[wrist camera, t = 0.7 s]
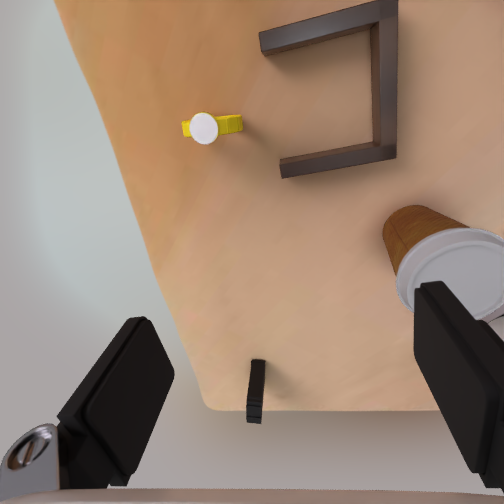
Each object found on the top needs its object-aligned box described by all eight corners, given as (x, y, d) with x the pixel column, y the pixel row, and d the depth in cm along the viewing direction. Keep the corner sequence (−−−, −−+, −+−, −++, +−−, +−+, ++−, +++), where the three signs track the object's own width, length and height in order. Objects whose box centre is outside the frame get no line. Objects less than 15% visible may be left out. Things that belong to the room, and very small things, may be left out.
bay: (261, 38, 29) (258, 32, 26) (387, 4, 26) (398, -7, 24) (282, 172, 34) (281, 178, 32) (387, 153, 32) (396, 158, 29)
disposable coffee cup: (466, 238, 35) (541, 299, 25) (390, 276, 39) (428, 343, 28) (433, 174, 33) (502, 211, 22) (354, 221, 36) (381, 272, 25)
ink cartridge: (251, 357, 49) (245, 402, 42) (265, 359, 48) (261, 404, 41) (251, 378, 51) (245, 423, 44) (264, 379, 51) (260, 425, 44)
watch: (244, 106, 31) (235, 108, 26) (246, 134, 33) (239, 141, 28) (189, 112, 32) (170, 115, 27) (194, 139, 34) (177, 147, 28)
